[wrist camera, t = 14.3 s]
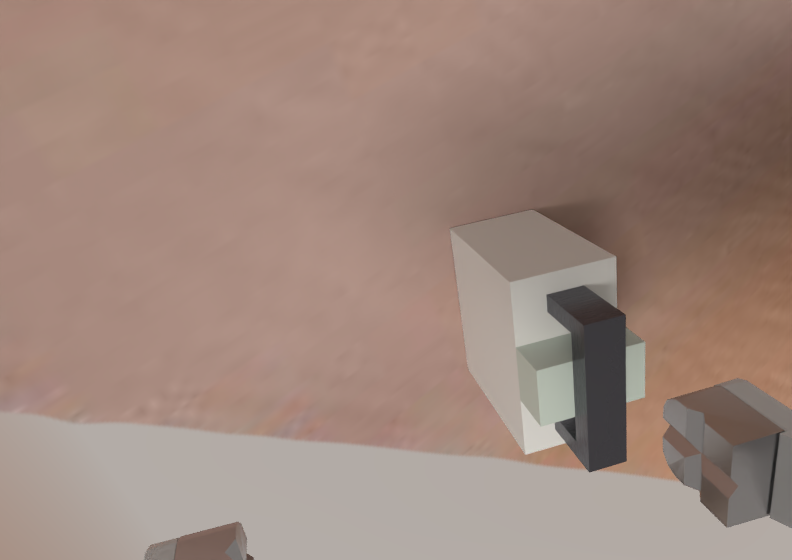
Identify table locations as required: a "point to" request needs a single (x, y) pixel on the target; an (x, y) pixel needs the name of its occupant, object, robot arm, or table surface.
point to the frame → (594, 376)
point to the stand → (530, 318)
